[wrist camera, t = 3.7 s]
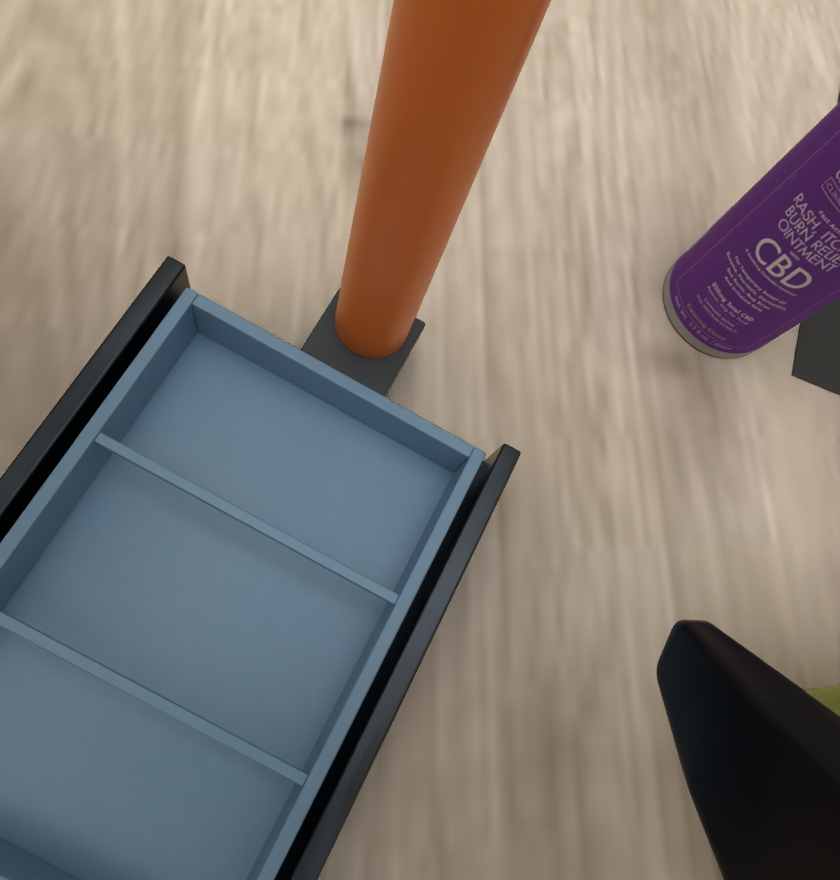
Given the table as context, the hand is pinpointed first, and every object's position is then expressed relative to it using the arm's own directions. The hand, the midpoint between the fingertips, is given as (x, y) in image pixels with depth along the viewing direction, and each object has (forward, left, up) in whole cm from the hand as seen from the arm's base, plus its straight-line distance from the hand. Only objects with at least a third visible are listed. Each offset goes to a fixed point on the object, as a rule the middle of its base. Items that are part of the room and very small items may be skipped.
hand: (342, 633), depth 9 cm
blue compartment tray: (+3, -1, -13) cm, 13 cm away
